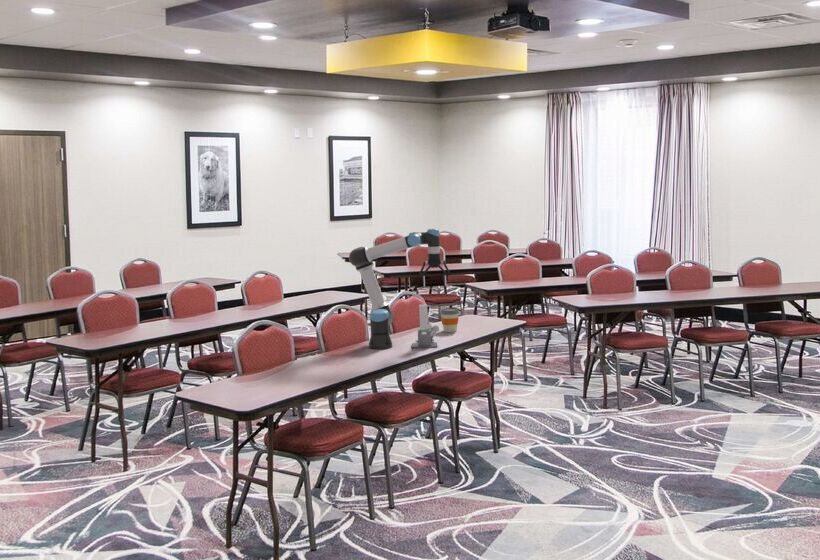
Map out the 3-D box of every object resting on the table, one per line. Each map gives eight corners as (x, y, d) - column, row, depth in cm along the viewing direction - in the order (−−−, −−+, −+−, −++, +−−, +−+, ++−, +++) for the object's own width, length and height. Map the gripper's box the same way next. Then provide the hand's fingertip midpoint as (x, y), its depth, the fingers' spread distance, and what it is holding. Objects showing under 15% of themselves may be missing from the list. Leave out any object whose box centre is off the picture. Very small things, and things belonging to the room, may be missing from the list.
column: (420, 334, 547) (419, 305, 545) (420, 332, 552) (419, 304, 550) (428, 333, 547) (427, 305, 545) (428, 332, 552) (427, 304, 550)
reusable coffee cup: (438, 330, 605) (438, 308, 603) (455, 328, 608) (455, 307, 607) (444, 333, 593) (443, 311, 591) (461, 331, 596) (461, 309, 594)
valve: (428, 337, 579) (444, 332, 568) (415, 353, 567) (431, 348, 556) (420, 325, 577) (435, 319, 566) (406, 340, 564) (422, 335, 554)
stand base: (411, 348, 544) (411, 332, 543) (412, 344, 556) (411, 329, 555) (437, 347, 544) (436, 331, 543) (437, 343, 556) (436, 328, 555)
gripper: (414, 254, 550) (415, 287, 552) (453, 252, 549) (454, 286, 552) (414, 253, 557) (415, 286, 560) (453, 251, 557) (454, 284, 559)
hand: (435, 286), depth 556 cm, fingers open, 13 cm apart
